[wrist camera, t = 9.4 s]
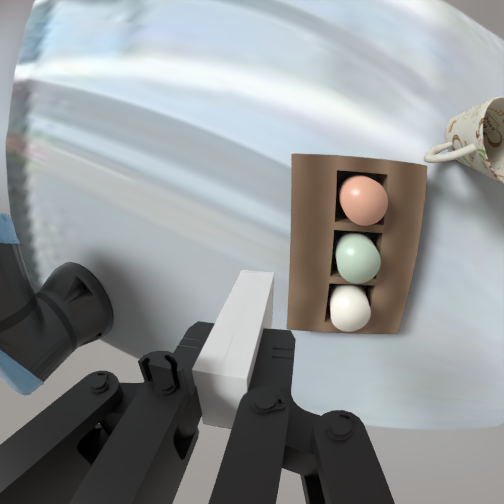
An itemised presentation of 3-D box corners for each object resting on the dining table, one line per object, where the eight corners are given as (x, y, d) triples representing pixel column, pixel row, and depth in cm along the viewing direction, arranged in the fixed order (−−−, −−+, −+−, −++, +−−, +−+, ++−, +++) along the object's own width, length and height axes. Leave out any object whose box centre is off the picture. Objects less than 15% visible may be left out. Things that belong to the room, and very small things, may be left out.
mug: (495, 162, 23) (544, 173, 14) (423, 195, 27) (463, 216, 18) (473, 99, 21) (520, 90, 12) (396, 126, 25) (432, 119, 16)
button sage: (332, 266, 31) (335, 282, 27) (336, 228, 29) (339, 240, 25) (370, 268, 30) (376, 284, 26) (375, 231, 28) (383, 243, 25)
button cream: (327, 311, 33) (328, 330, 29) (331, 279, 31) (333, 296, 28) (362, 312, 32) (366, 332, 28) (368, 281, 30) (374, 298, 27)
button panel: (289, 313, 36) (286, 329, 33) (293, 153, 29) (291, 154, 26) (391, 318, 33) (397, 333, 30) (415, 163, 26) (427, 165, 23)
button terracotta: (337, 214, 28) (340, 224, 25) (338, 172, 27) (343, 176, 23) (376, 217, 28) (385, 227, 24) (379, 176, 26) (389, 180, 22)
